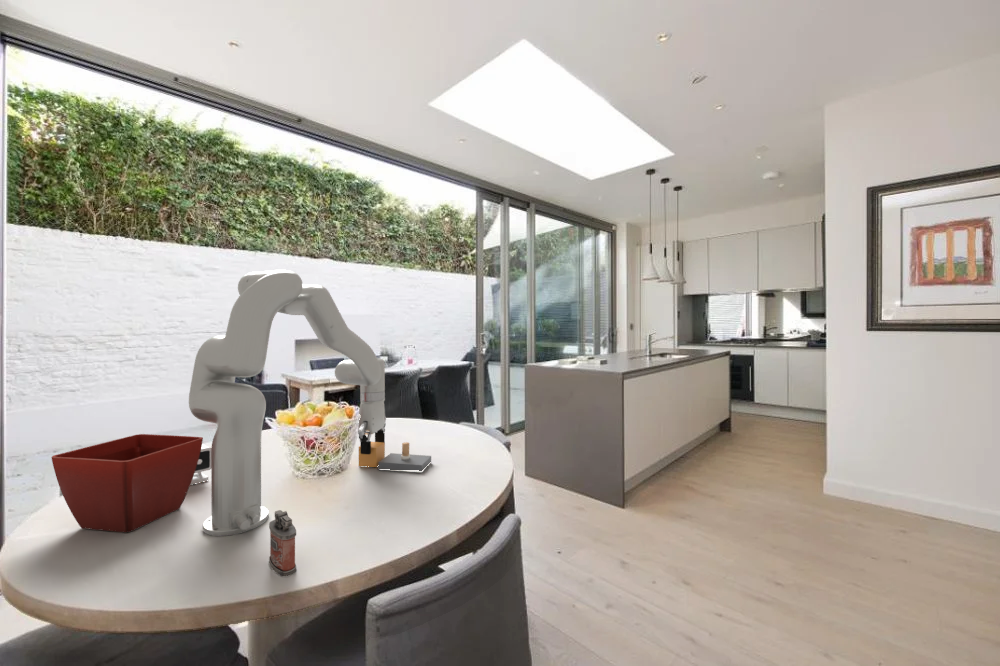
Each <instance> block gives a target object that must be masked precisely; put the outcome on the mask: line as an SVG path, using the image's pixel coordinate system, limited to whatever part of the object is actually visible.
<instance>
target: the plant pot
mask: <svg viewBox="0 0 1000 666" xmlns="http://www.w3.org/2000/svg"><path fill="white" fill-rule="evenodd" d="M203 441H204V438H203V437H201V436H189V435H188V436H187V435H172V434H171V435H170V434H148V433H147V434H145V433H139V434H134V435H129V436H125V437H123V438H122V437H121V438H117V439H114V440H110V441H106V442H101V443H98V444H94V445H90V446H86V447H85V446H84V447H82V448H78V449H74V450H70V451H69V450H68V451H67V452H66V451H65V452H62V453H58V454H54V455H52V456H51V462H52V466H53V469H54V473H55V477H56V481H57V483H58V486H59V490H60V492H61V494H62V496H63V499H64V501H65V504H66V505H67V507H68V509H69V511H70V513H71V515H72V516H73V518H74V520H75V521H76V522H77V524H78V526H79V527H80V528H81V529H86V530H96V531H97V530H98V531H107V532H116V533H117V532H118V533H129V532H133V531H136V530H138V529H140V528H142V527H144V526H146V525H148V524H151V523H152V522H154V521H157V520H158V519H161V518H163V517H164V516H167V515H169V514H172V513H174V512H176V511H177V510H180V509H181V506H183V503H184V501H185V498H186V496H187V494H188V491H189V489H190V487H191V486H190V484H191V481H192V479H193V476H194V474H196V473H195V470H196V466H197V463H198V459H199V456H200V452H201V447H202V444H203Z"/></svg>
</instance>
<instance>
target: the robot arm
mask: <svg viewBox="0 0 1000 666" xmlns="http://www.w3.org/2000/svg"><path fill="white" fill-rule="evenodd" d="M237 292H238V294H239V296H238V297H237V299H236V300H235V302H234V304H233V306H232V308H231V311H230V315H229V319H228V321H227V322H228V323H227V326H226V332H225V335H222V334H221V335H216V336H212V337H210V338H209V339H207V340H206V341H204V342H203V343H202V344H201V346H200V347H199V349H198V351H197V353H196V356H195V359H194V364H193V369H192V370H193V371H192V375H191V382H190V388H189V394H188V408H189V411H190V413H191V414H192V415H193V416H194V417H195V418H196V419H198V420H199V421H203V422H205V423H211V424H216V425H217V426H216V430H215V433H214V435H213V438H212V441H211V447H210V448H211V469H210V470H211V471H210V473H211V474H210V475H211V477H210V479H211V489H210V491H211V494H210V495H211V502H210V503H211V516H209V517H208V518H207V519H205V520H204V521H203V524H202V531H203V533H205V534H207V535H210V536H216V537H218V536H219V537H221V536H222V537H224V536H233V535H236V534H241V533H245V532H247V531H251V530H253V529H256V528H258V527H259V526H261V525H262V524H264V523H265V522H266V521H267V520H268V519H269V516H270V513H269V509H268V508H267V507H265V506H262V435H263V434H262V433H263V432H262V430H263V424H264V419H265V416H266V415H265V414H266V412H267V411H266V410H267V409H266V408H267V402H266V398H265V395H264V394H263V392H262V391H261V390H260V389H259V388H257V387H255V386H253V385H250V384H247V383H241V382H236V381H235V380H236V378H252V377H255V376H257V375H259V374H260V373H261V372H262V371H263V370H264V368H265V364H266V359H267V353H268V348H269V341H270V333H271V329H272V325H273V324H272V323H273V320H274V319H275V317H276V314H277V313H280V314H285V315H290V316H304V317H305V319H306V320H307V322H308V324H309V326H310V327H311V329H312V331H313V332H314V334H315V336H316V338H317V339H318V341H319V342H320V343H321V344H322V345H323V346H325V347H327V348H329V349H331V350H333V351H336V352H338V353H340V354H342V355H344V356H345V357H347V358H348V359H345V360H342V361H340V362H339V363H338V364H337V365H336V366H335V370H334V377H335V378H336V379H337V380H338V381H339V382H340V383H342V384H344V385H345V384H346V385H352V386H353V385H354V386H360V387H359V389H360V396H359V397H360V398H359V399H360V404H359V409H358V410H359V411H358V415H359V414H360V415H361V418H360V420H359V419H358V420H359V423H358V424H357V425H358V426H357V428H358V430H357V434H358V439H359V442H360V446H361V454H371V442H372V441H371V437H372V435H374V442H384V443H385V437H386V436H385V432H386V420H387V417H386V410H385V401H386V397H385V396H386V393H385V390H386V386H385V383H386V380H385V379H386V377H385V376H386V374H385V371H386V370H385V369H386V368H385V366H386V365H385V360H384V359H382V358H379V357H377V355H376V354H375V352H374V350H373V348H372V347H371V346H370V345H369V344H368V343H367V342H366V341H365V340H364V339H362V338H361V337H360V336H359V335H358V334H356V333H355V332H354V331H352V330H351V329H350V328H349V327H348V325H347V323H346V321H345V319H344V318H343V316H342V314H341V312H340V310H339V308H338V306H337V305H336V303H335V300H334V298H333V297H332V295H331V293H330V292H329V290H328V288H326V287H324V286H323V285H320V284H313V283H312V284H304V283H303V279H302V278H301V276H300V275H299V274H298V273H296V272H294V271H292V270H288V269H287V270H286V269H274V270H264V271H262V270H261V271H260V270H259V271H252V272H251V271H250V272H248V273H246V274H245V275H243V276H242V277H241V278H240V279H239V281H238V283H237ZM385 444H386V443H385Z"/></svg>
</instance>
